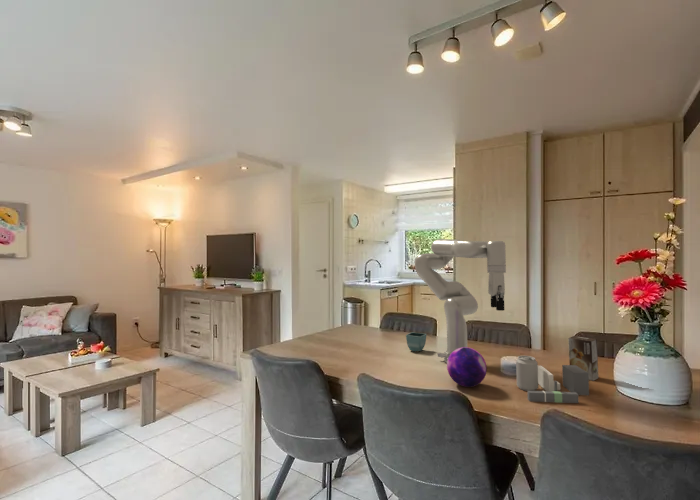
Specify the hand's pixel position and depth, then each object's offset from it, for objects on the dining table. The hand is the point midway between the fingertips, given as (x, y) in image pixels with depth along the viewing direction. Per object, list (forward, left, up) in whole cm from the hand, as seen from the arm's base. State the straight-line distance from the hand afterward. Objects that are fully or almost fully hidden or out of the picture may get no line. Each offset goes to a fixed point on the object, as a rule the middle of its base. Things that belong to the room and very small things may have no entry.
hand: (497, 308), depth 161 cm
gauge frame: (+15, -21, -28) cm, 38 cm away
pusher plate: (+15, -19, -28) cm, 37 cm away
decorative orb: (-16, -16, -28) cm, 36 cm away
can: (+6, -17, -28) cm, 34 cm away
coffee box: (+34, 0, -28) cm, 44 cm away
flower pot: (-34, +38, -28) cm, 58 cm away
